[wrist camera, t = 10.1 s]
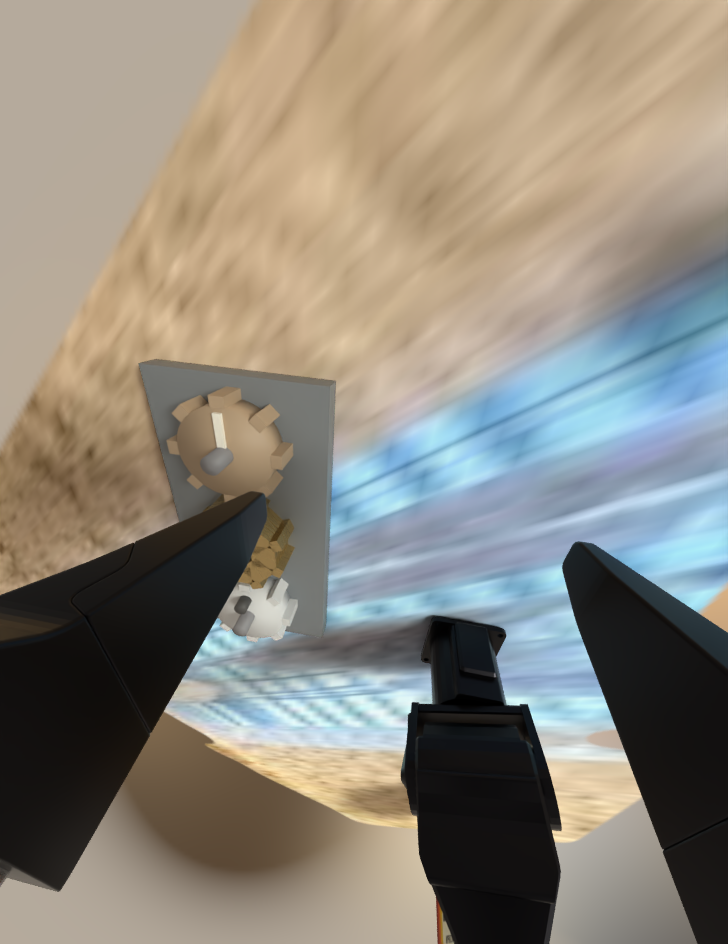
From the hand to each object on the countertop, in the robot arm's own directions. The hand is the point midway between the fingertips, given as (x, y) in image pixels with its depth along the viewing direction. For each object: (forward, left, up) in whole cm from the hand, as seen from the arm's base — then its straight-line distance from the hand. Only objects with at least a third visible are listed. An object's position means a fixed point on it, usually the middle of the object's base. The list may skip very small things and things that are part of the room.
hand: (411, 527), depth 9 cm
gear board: (-11, +11, -12) cm, 20 cm away
